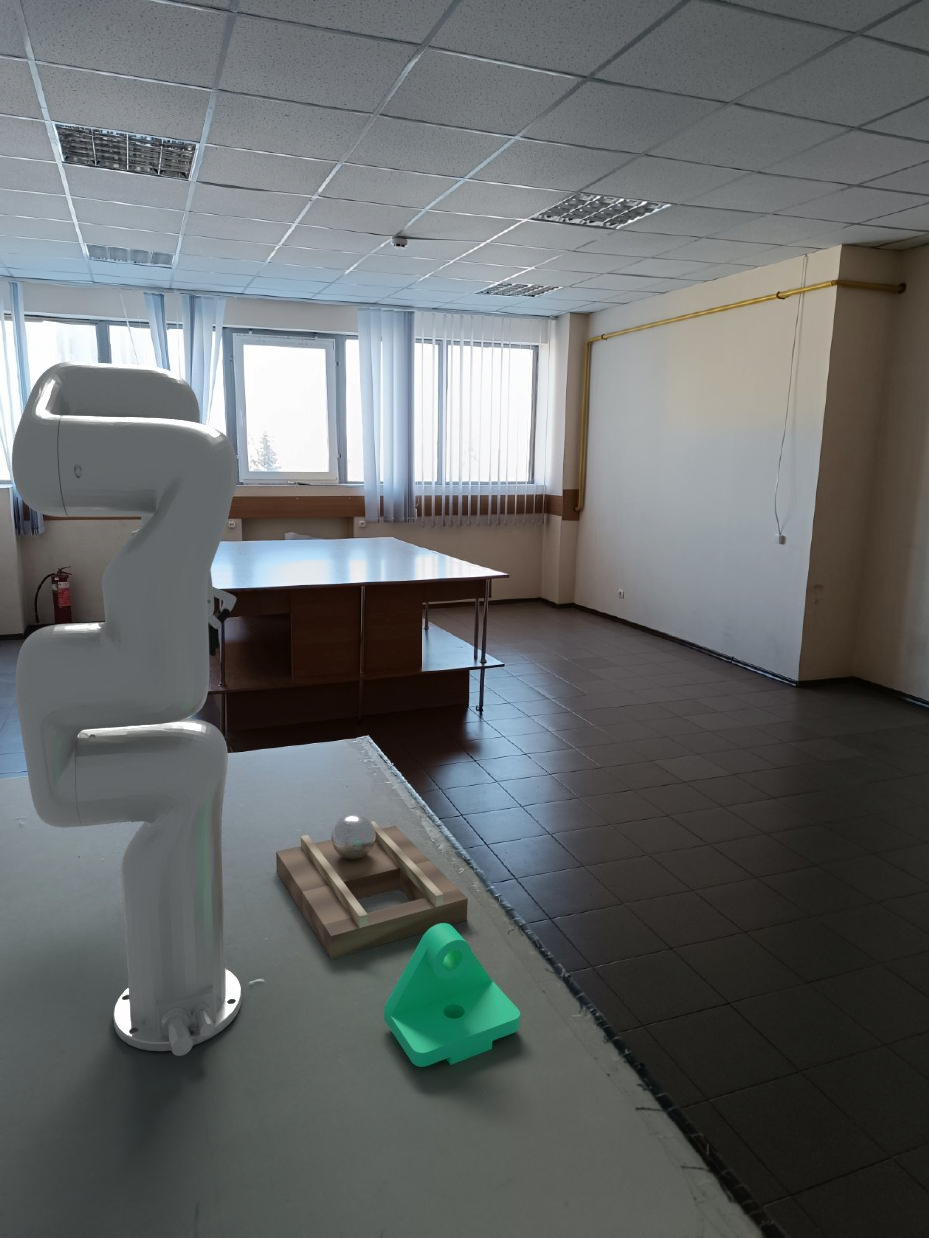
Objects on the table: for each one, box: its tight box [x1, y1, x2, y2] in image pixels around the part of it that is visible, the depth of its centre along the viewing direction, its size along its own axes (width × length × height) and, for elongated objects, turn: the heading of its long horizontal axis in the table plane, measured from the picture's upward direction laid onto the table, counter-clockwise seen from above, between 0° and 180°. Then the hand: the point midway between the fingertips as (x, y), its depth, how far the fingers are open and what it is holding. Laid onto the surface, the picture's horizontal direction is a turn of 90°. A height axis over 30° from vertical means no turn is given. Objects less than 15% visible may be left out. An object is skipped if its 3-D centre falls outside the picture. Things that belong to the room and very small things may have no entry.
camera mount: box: [383, 923, 521, 1068], centre depth 82 cm, size 12×8×10 cm, turn 119°
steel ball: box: [330, 813, 376, 860], centre depth 110 cm, size 6×6×6 cm
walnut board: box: [275, 820, 469, 960], centre depth 107 cm, size 22×18×4 cm
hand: (176, 657), depth 116 cm, fingers open, 9 cm apart
